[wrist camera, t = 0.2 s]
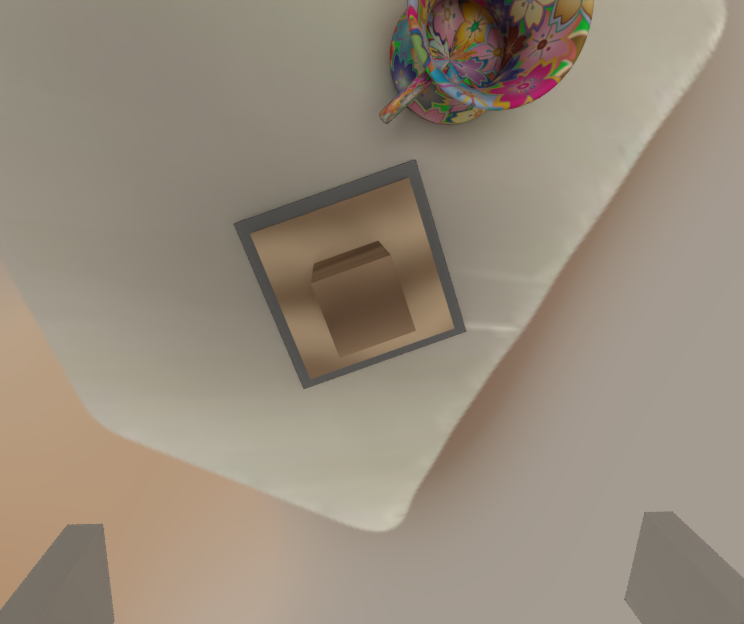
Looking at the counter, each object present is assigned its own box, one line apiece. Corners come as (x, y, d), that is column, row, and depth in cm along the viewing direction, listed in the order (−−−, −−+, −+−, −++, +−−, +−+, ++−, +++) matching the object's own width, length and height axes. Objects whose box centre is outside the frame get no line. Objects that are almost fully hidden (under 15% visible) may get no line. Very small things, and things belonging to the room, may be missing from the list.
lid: (252, 232, 34) (230, 246, 26) (406, 177, 34) (430, 176, 26) (310, 374, 37) (306, 424, 29) (451, 324, 37) (483, 361, 29)
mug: (458, -48, 31) (523, -162, 20) (536, 70, 33) (629, 20, 23) (325, 80, 32) (325, 31, 22) (410, 184, 34) (445, 184, 24)
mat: (235, 223, 34) (233, 223, 33) (413, 159, 34) (415, 159, 33) (304, 385, 38) (303, 389, 37) (464, 329, 38) (466, 331, 37)
